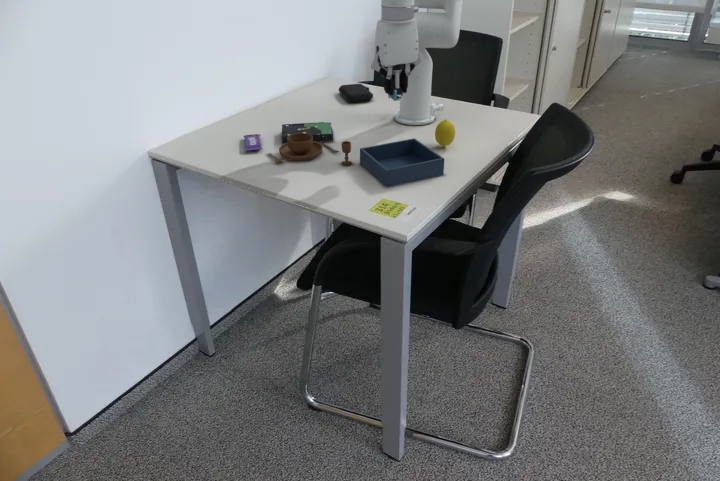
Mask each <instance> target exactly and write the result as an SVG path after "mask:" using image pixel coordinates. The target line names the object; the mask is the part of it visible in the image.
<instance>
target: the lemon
mask: <svg viewBox="0 0 720 481" xmlns="http://www.w3.org/2000/svg"><path fill="white" fill-rule="evenodd" d="M434 138H435V141H436V143H437V144H438V145H440V146H441V147H442V148H446V147H447V146H450V145H451V144H452V143H453V142H454V140H455V138H456V128H455V125H454V123H453V122H451V120H448V119H444V120H442V121H440V122H438V124H437V125H436V127H435V130H434Z"/></svg>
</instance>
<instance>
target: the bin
mask: <svg viewBox="0 0 720 481" xmlns="http://www.w3.org/2000/svg"><path fill="white" fill-rule="evenodd" d="M359 165H360V166H361V167H362V168H363V169H364V170H366V171H367V172H368V173H369V174H370V175H371V176H372V177H374V178H375V179H376V181H378V182H379V183H380V184H382V185H383V186H384V188H390V187H395V186H400V185H404V184H409V183H413V182H417V181H423V180H428V179H431V178H436V177H440V176H441V177H442V176H444V172H445V171H444V169H445V157H443V156H442V155H440V154H439V153H438V152H435V151H434V150H432V149H431V148H430V147H428V146H427V145H426V144H424V143H422V142H421V141H419V140H418V139H416V138H415V137H413V138H408V139H404V140H397V141H392V142H386V143H382V144H376V145H372V146H366V147H361V148H359Z"/></svg>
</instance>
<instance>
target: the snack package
mask: <svg viewBox="0 0 720 481" xmlns="http://www.w3.org/2000/svg"><path fill="white" fill-rule="evenodd" d="M243 138H244V149H243V151H244V152H245V151H246V152H247V151H248V152H249V151H258V150H263V148H262V145H261V134H259V133H254V134H245V135H243Z"/></svg>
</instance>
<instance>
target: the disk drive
mask: <svg viewBox="0 0 720 481" xmlns="http://www.w3.org/2000/svg"><path fill="white" fill-rule="evenodd" d="M296 133H307V134H310V135H312V136H313V141H315V142H318V143H329V142H330V143H331V142H334V130H333V126H332V121H331V122H329V121H328V122H327V121H326V122H324V121H321V122H320V121H319V122H300V123H282V124H281V143H282V144H281V145H283V144H285V143H288V142H287V137H288V136H290V135H292V134H296Z"/></svg>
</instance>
